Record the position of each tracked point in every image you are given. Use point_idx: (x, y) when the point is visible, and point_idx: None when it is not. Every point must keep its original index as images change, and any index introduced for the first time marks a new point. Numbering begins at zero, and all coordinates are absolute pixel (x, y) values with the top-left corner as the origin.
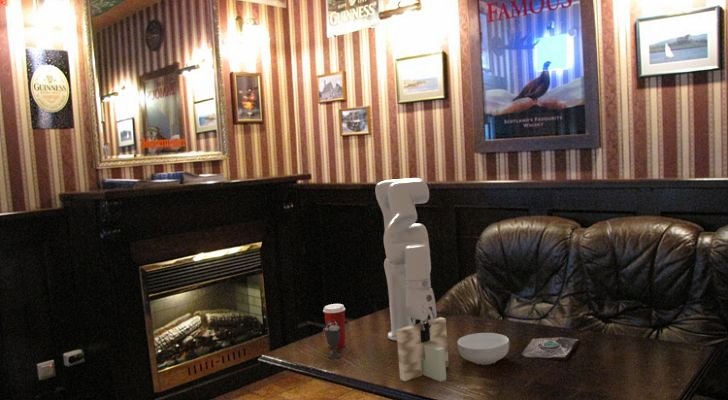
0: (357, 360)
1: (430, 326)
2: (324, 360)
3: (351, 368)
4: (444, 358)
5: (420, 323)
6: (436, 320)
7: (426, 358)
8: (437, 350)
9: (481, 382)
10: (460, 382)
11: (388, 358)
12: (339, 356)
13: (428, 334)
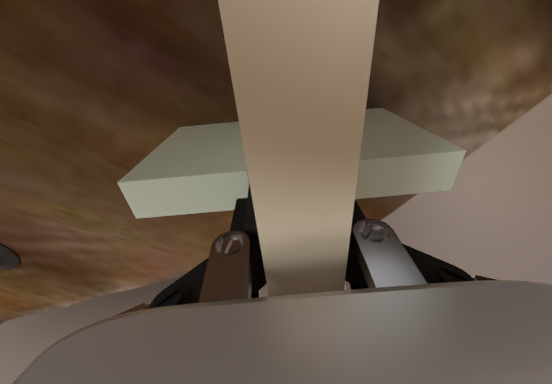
0: (55, 226)
1: (423, 254)
2: (30, 278)
3: (123, 257)
4: (427, 133)
5: (284, 285)
6: (338, 90)
7: None
8: (441, 189)
9: (520, 10)
10: (440, 82)
11: (65, 149)
12: (6, 251)
13: (355, 207)
